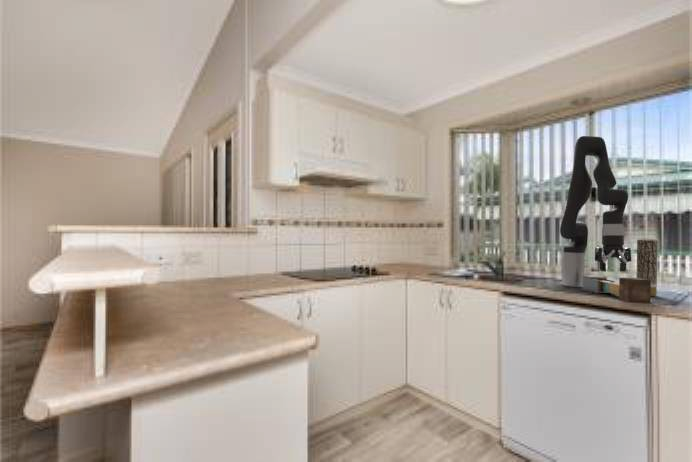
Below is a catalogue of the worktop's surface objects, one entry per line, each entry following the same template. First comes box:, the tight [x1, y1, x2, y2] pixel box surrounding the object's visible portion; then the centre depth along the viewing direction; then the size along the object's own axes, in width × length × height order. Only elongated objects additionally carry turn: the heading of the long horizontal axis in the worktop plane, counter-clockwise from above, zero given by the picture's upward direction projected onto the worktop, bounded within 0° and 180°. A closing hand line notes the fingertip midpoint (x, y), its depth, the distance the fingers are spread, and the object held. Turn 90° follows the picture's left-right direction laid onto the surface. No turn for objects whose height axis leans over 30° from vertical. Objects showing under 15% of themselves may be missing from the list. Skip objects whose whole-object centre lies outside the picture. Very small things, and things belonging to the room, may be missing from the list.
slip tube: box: [595, 279, 619, 296], centre depth 150 cm, size 19×4×4 cm, turn 0°
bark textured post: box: [635, 238, 659, 297], centre depth 150 cm, size 7×7×25 cm
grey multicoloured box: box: [581, 274, 616, 294], centre depth 156 cm, size 10×8×7 cm
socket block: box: [618, 277, 652, 303], centre depth 136 cm, size 5×8×9 cm, turn 90°
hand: (612, 271), depth 148 cm, fingers open, 8 cm apart
